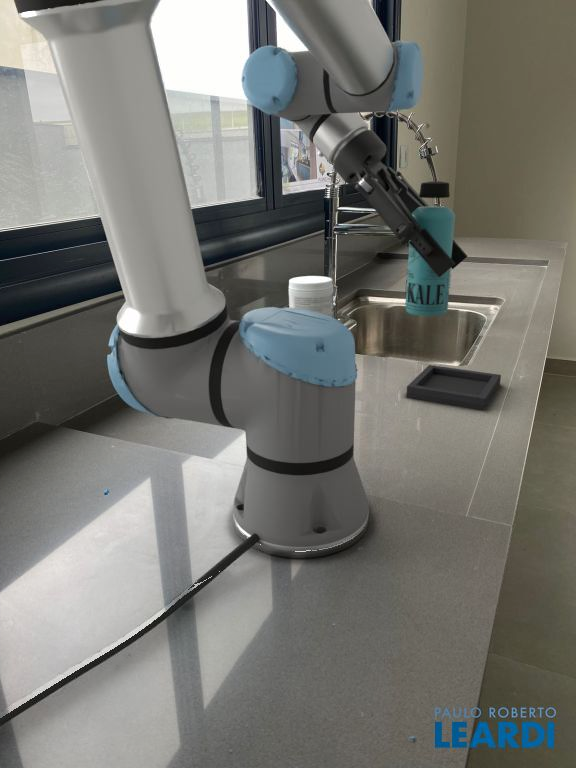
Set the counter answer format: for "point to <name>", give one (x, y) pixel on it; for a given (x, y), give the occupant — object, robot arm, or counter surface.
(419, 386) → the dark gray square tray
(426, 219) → the beverage bottle
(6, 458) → the counter surface
